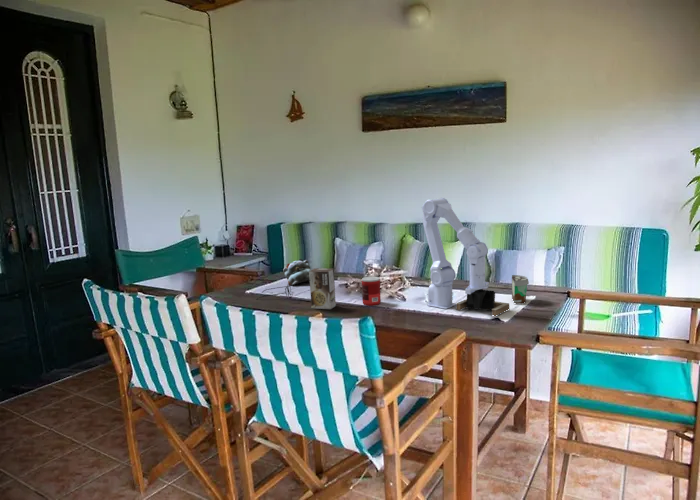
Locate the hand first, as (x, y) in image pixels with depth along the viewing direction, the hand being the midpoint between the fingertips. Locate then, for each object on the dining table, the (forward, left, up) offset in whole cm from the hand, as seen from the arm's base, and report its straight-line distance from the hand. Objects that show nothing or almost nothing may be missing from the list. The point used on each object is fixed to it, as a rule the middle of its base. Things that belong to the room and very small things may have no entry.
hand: (477, 308), depth 205 cm
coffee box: (-56, -29, -2) cm, 63 cm away
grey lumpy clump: (-101, -4, -2) cm, 101 cm away
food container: (+6, +25, -2) cm, 25 cm away
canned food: (-43, -13, -2) cm, 45 cm away
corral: (0, +4, -2) cm, 4 cm away
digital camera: (-1, +3, -1) cm, 3 cm away
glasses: (-91, -28, -2) cm, 95 cm away
